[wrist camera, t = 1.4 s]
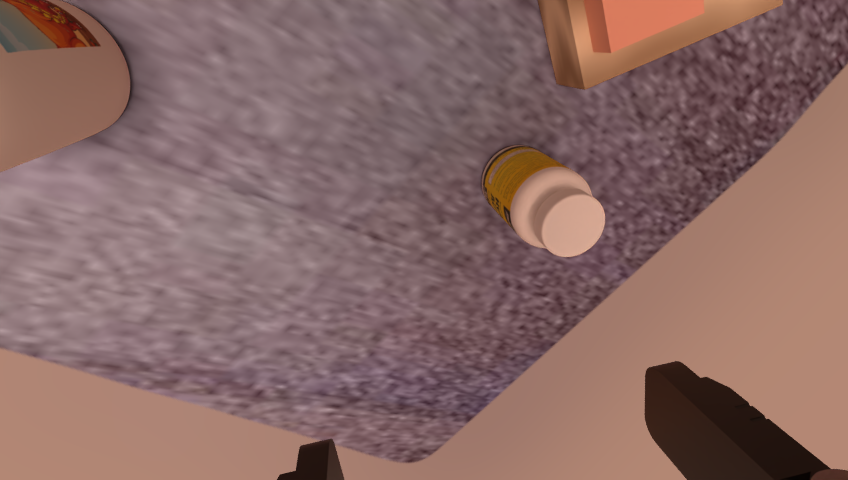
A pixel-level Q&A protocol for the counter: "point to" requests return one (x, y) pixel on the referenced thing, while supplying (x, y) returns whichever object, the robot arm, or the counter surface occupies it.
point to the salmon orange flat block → (634, 20)
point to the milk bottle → (55, 78)
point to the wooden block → (585, 68)
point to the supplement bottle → (543, 201)
